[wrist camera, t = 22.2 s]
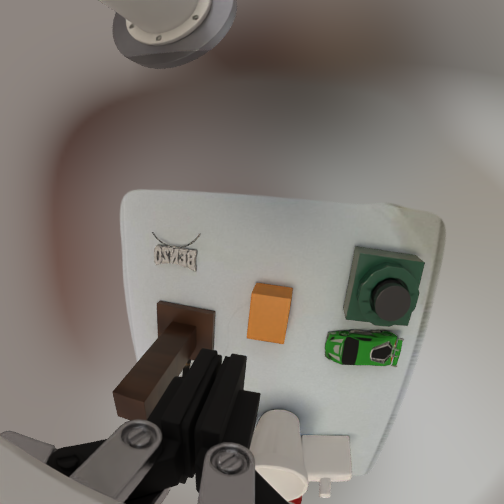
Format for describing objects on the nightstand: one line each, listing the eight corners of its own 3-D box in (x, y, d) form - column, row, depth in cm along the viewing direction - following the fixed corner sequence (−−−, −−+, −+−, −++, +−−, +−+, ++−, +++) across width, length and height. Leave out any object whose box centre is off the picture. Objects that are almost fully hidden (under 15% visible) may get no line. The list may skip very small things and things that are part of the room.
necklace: (200, 271, 40) (201, 232, 38) (198, 272, 39) (200, 233, 37) (153, 263, 40) (153, 226, 39) (151, 265, 40) (151, 228, 38)
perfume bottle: (350, 434, 43) (354, 491, 32) (347, 442, 44) (351, 498, 32) (301, 434, 44) (296, 491, 33) (300, 441, 45) (295, 498, 33)
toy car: (323, 358, 40) (323, 368, 38) (327, 328, 39) (327, 336, 37) (393, 359, 39) (396, 368, 36) (400, 329, 37) (404, 338, 35)
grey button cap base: (355, 245, 36) (362, 257, 31) (416, 255, 35) (430, 267, 30) (342, 308, 38) (347, 326, 33) (401, 314, 37) (411, 333, 32)
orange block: (256, 282, 39) (251, 293, 36) (292, 287, 38) (291, 299, 35) (251, 325, 40) (246, 338, 37) (285, 330, 40) (283, 344, 37)
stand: (159, 300, 42) (89, 367, 26) (215, 311, 41) (164, 391, 25) (161, 348, 44) (103, 422, 28) (213, 360, 43) (170, 446, 27)
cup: (322, 429, 43) (322, 493, 31) (269, 446, 46) (258, 507, 34) (291, 389, 42) (283, 458, 30) (235, 411, 45) (215, 474, 32)
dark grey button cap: (375, 277, 32) (379, 283, 30) (409, 281, 31) (415, 288, 29) (367, 311, 33) (371, 319, 31) (400, 314, 32) (405, 322, 30)
